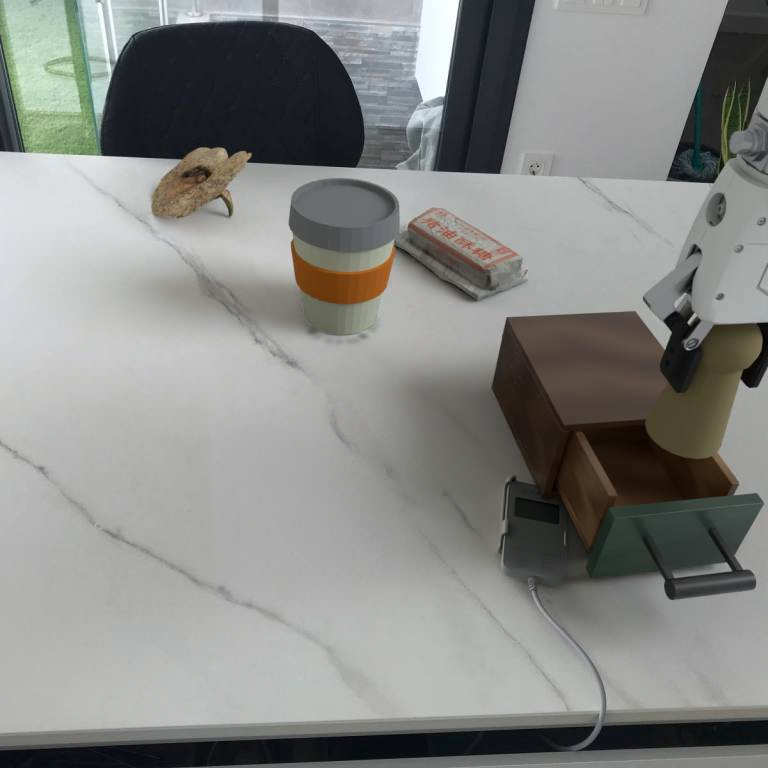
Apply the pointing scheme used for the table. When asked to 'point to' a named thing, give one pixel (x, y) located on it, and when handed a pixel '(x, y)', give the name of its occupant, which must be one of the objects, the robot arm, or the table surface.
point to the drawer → (655, 510)
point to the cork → (705, 393)
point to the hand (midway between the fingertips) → (708, 377)
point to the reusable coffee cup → (342, 251)
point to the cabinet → (573, 381)
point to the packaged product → (461, 254)
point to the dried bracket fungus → (197, 182)
